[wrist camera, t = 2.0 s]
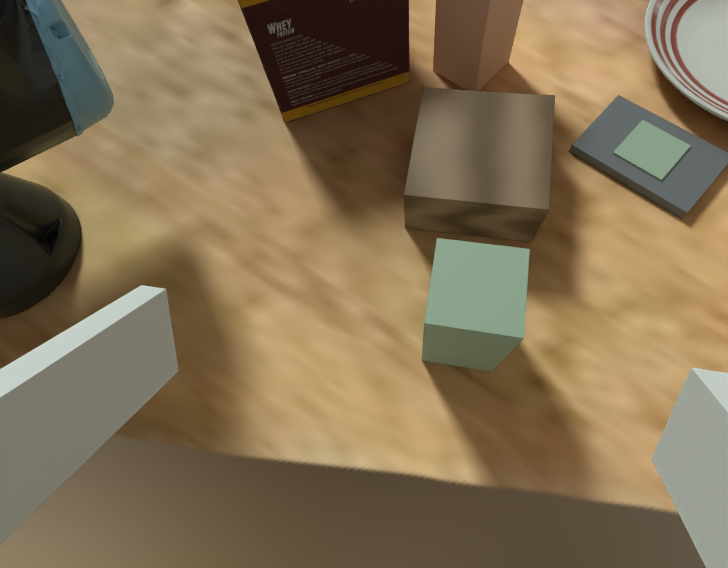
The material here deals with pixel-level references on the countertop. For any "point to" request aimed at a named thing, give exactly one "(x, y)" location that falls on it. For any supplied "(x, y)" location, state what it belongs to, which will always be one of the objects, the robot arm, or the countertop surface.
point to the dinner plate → (692, 49)
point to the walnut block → (480, 163)
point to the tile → (651, 155)
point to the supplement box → (329, 49)
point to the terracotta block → (474, 39)
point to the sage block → (475, 304)
